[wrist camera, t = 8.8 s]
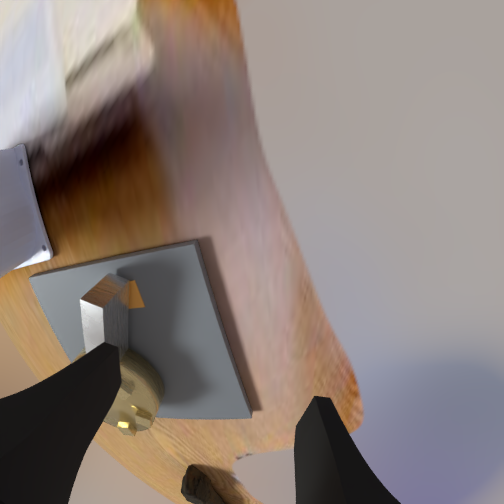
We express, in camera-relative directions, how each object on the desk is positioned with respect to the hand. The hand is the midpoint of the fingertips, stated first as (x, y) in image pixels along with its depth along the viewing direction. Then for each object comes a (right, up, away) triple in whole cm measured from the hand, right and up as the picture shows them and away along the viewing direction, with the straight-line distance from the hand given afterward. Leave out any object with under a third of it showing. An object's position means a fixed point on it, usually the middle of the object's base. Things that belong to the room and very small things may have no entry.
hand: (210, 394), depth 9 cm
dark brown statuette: (-5, -30, +23) cm, 38 cm away
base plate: (-8, -3, +12) cm, 15 cm away
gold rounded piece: (-9, -3, +11) cm, 14 cm away
